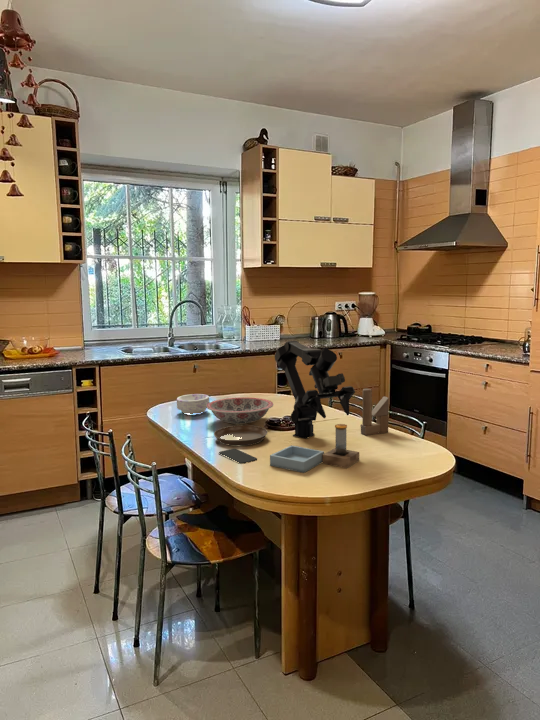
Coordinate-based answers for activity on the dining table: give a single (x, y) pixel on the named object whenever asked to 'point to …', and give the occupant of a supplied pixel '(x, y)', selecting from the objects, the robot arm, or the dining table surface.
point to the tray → (296, 458)
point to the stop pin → (341, 439)
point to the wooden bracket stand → (374, 414)
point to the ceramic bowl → (240, 409)
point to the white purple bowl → (192, 403)
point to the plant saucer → (242, 434)
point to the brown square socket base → (341, 458)
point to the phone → (238, 455)
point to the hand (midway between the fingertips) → (336, 416)
